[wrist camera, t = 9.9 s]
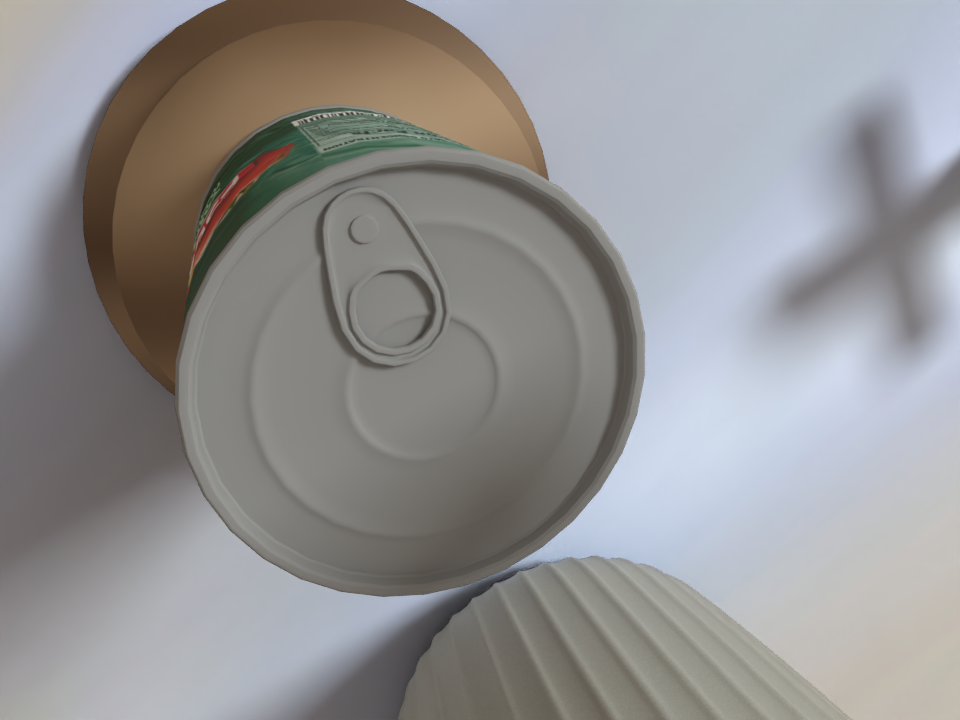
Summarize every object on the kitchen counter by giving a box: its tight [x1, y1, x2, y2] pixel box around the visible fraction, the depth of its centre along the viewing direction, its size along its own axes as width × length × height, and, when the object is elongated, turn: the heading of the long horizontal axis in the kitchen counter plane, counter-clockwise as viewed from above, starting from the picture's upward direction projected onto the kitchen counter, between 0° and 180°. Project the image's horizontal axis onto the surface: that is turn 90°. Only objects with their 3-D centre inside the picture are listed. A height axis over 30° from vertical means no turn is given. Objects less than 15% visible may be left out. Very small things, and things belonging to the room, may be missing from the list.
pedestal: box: [83, 0, 549, 395], centre depth 26 cm, size 14×14×3 cm
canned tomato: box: [175, 104, 645, 597], centre depth 19 cm, size 8×8×11 cm
